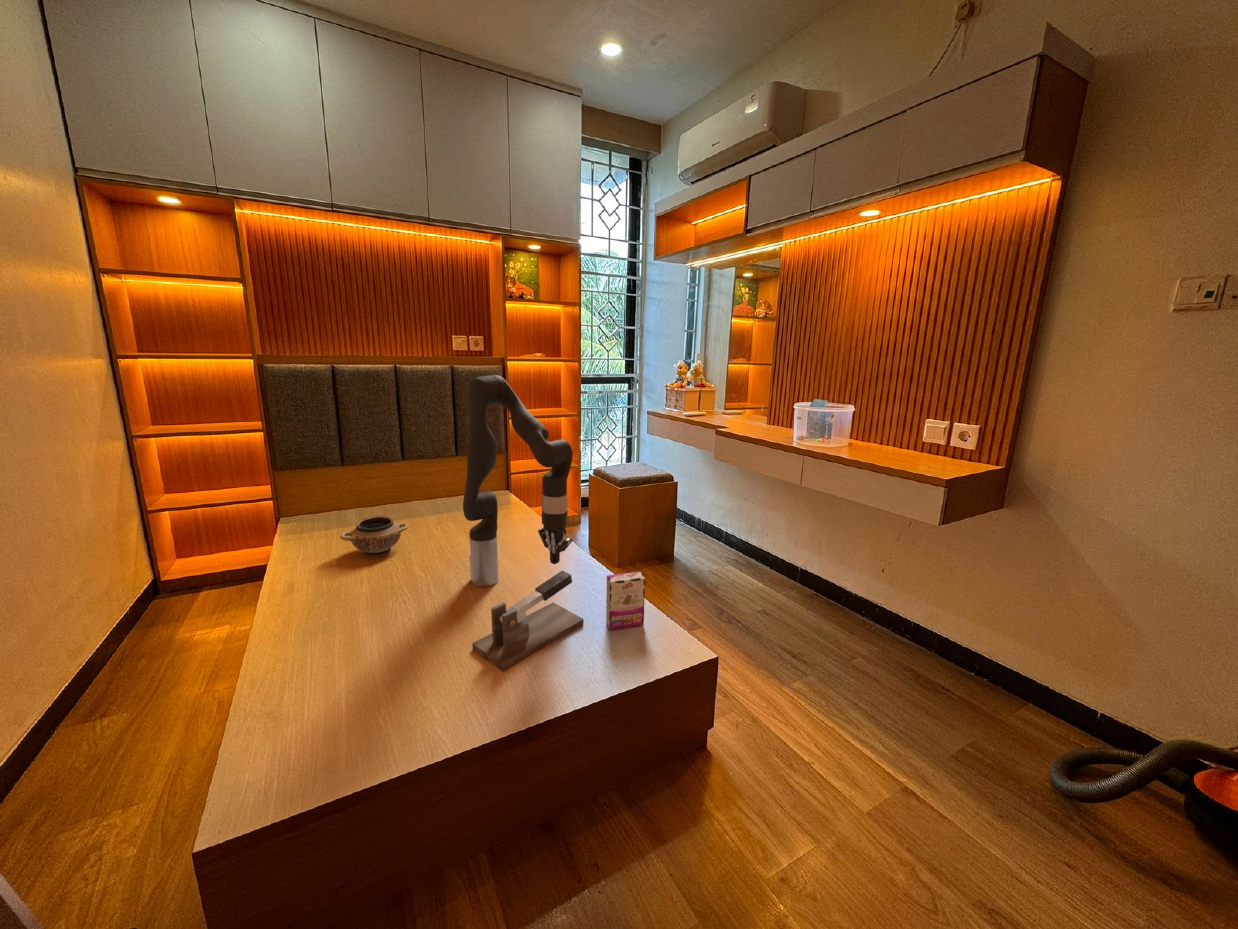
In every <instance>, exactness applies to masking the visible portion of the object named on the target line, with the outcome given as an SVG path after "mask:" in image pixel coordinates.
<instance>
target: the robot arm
mask: <svg viewBox="0 0 1238 929" xmlns="http://www.w3.org/2000/svg"><path fill="white" fill-rule="evenodd" d="M467 402H468V404H467V405H468V440H467V441H468V442H467V456H466V457H467V458H466V461H467V462H466V479H465V487H464V493H463V503H462V511H463V516H464V518H465V519H466V520H467V521H469V522H470V521H471V522H472V521H473V522H474V521H479V522H478V523H477V524H475V525H474V526H472V527H471V528H470V530H469V548H470V550H469V551H470V555H469V566H470V567H469V569H470V571H469V572H470V580H471V583H472V585H473V586H475V587H480V588H484V587H490V586H491V587H492V586H493V585H495V584H497V582H499V556H498V535H497V534H498V533H497V532H498V515H499V514H498V511H499V510H498V507H499V506H498V500H497V496H496V494H495V493H494V492H493V491H488V490H487V491H481V492H480V489H481V486H482V484H483V483H484V481H485V480H486V478H487V477H488V476H489V475H490V474H491V472H492V471H493V469H494V468H495V466H496V462H497V459H498V456H497V455H498V442H497V440H496V437H495V435H494V434H493V432H492V430H491V429H490V428H489V425H488V423H487V422H488V421H487V408H488V407H493V406H500V405H501V406H502V407H503V408H505V409H506V410H507V411H508V412H509V416H510V422H511V426H512V429H513V430H514V433H516V435H518V436H519V438H521V439H522V440H523V442H524V443H525V444H527V445H528V448H529V449H530V451H531V453H532V454H533V457H534V459H535V461H536V462H537V463H538V464H539V465H540V466H542V467H545V468H550V470H549V471H548V472H547V473H544V475H543V476H542V481H541V482H542V485H541V488H542V491H541V492H542V494H541V524H542V525H543V526H542V528H540V529H538V530H537V533H538V535H539V537H540V539H541V541H542V544H543V545H544V548H545V549H547V550H548V552H549V561H550V564H552V565H557V564H559V563H560V560H561V558H560V556H561V555H560V554H561V553H562V552H566V550H567V548H568V547H569V546H570V544H572V542H573V539H572V538H571V537H570V538H569V537H568V535H567V530H566V526H567V524H568V522H569V521H568V520H569V519H568V518H569V517H568V516H569V515H568V513H569V512H568V511H569V509H568V508H569V503H568V502H569V500H568V477H569V475H570V471H571V466H572V463H573V458H574V457H573V456H574V452H573V449H572V445H571V444H570V443H569V442H568V441H567V440H566V439H555V440H552V441H547V440H548V439H549V434H550V433H549V431H548V429H547V428H546V426H544V424H542V423H541V421H539V420H538V419H537V418H536V417H535V416H534V415H533V414H531V412H530V411H529V410H528V409H527V407H526V406H525V405H524V404H523V402H522V401H521V399H520V398H519V396H518V395H517V394H516V393H515V391H514V390H513V389H512V387H511V385H510V384H509V383H508V382H507V381H506V380H505V379H504V378H503V377H502V376H501V375H498V374H491V375H490V374H489V375H483V376H475V377H474V378H471V380H470V381H469V384H468V388H467Z"/></svg>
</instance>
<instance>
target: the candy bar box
mask: <svg viewBox="0 0 1238 929" xmlns="http://www.w3.org/2000/svg"><path fill="white" fill-rule="evenodd" d="M645 594H646V577H645V576H644V575H643V572H642V571H636V572H635V571H634V572H633V571H632V572H624V573H616V574H607V575H606V603H605V604H606V606H605V607H606V610H605V611H606V612H605V613H606V614H605V615H606V618H605V620H606V625H607V626H608V629H609V631H617V630H624V629H629V628H637V627H643V626H644V624H645V623H644V622H645V596H646V595H645Z"/></svg>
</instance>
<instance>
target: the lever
mask: <svg viewBox="0 0 1238 929" xmlns="http://www.w3.org/2000/svg"><path fill="white" fill-rule="evenodd" d="M572 583H573V579H572V574H570V573H568V572H566V571H564V570H561V571H559V572H558V573H556V574H555V575H553V576H552V577H549V579H547V580H545V581H544V582H542V583H541V584H539V585H538V586H536V587H535V589H534V591H533V592H531V593H530V594H528V595H527V596H526V597H524V598H522V599H521V600H519V601H518V602H516V603H515V604H513V605H511V606H510V607H509V608H506V610H505V613H507V612H509V611H511V610H513V609H515V610H517V623H520V622H521V621H523V620H524V619H525V618H526V616H527V615H526V614H527V613H526V612H527V611H529V610H530V609H532V608H533V607H535V606H536V605H538V604H539V603H540V602H543V601H547V600H549V599H550V598H552V597H554V596H555V595H556V594H557V593H559V592H561V591H562V590H563V589H565V588H566V587H568V586H569V585H571V584H572ZM505 613H500V614H499V615H498V618H497V619H498V621H500V622H501V623H502V615H503V614H505Z"/></svg>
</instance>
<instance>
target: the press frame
mask: <svg viewBox="0 0 1238 929" xmlns="http://www.w3.org/2000/svg"><path fill="white" fill-rule="evenodd" d="M505 610H507V603H505V602H504V601H503V602H501V603H498V604H496V605H494V606H492V607H491V608H490V613H491V633H489V634H487V635H485V636H484V637H482V638H480V639H478V640H475V641H474V642H472V650H473V651H475V652H476V653H477V654H478V655H480V656H481V657H483V659H484V660H486V661H488V663H490V664H491V665H492V666H494V667H495V668H497V669H498V670H499V671H500V672H502V673H503V672H505V671H507V670H508V669H511V668H512V667H514V666H515V665H517V664H519V663H521V662H523V661H524V660H526V659H527V658H529V657H531V656H533V655H535V654H536V653H537V652H539V651H541V650H543V649H545V648H546V647H548V646H549V645H551V644H553V643H555V642H557V641H558V640H560V639H561V638H563V637H565V636H567V635H568V634H570V633H572V632H574V631H575V630H577V629H579V628H580V627H582V626H584V618H583V617H581V616H579V615H577V614H576V613H574V612H572V611H570V610H568V609H566V608H564V607H563V606H561V605H559V604H557V603H555V602H553V601H552V602H551V603H549V604H547V605H545V606H543V607H541V608H539V609H537V610H535V611H533V612H531V613H529V614H527V615H526V618H525V619H524V620H523V621H521V622H520V623H517V610H515V609H513V610H511V611H509V612H507V613H505ZM500 613H505V614H503V615H502V623H501V622H500V621H498V619H497V618H498V615H499V614H500Z"/></svg>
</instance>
